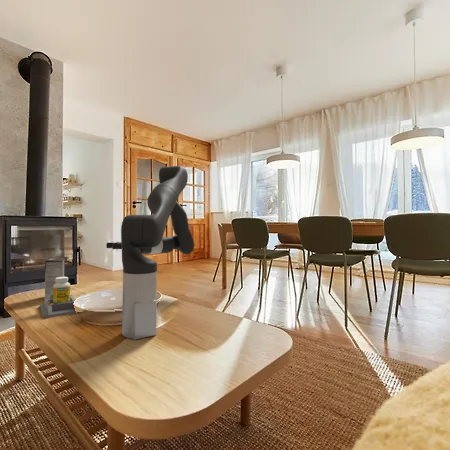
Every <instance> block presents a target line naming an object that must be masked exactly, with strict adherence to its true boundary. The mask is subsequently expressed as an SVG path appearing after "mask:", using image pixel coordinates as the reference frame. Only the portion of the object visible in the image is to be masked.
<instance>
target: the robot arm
mask: <svg viewBox="0 0 450 450" xmlns="http://www.w3.org/2000/svg"><path fill="white" fill-rule="evenodd" d="M188 176H189V175H188V172H187V169H186V168H185V167H184V166H181V165H173V166H172V165H171V166H163V167H160V169H159V171H158V180H159V184H157V185H156V186H155V187H154V188H153V189H152V190H151V192H150V193H149V195H148V196H147V207H148V209H149V212H150V213H151V214H128V215H126V216H125V217H124V218H123V220H122V222H121V226H120V241H116V242H106V246H105V247H106V248H107V249H112V250H121V263H122V311H121V313H122V315H121V316H122V320H121V322H122V324H121V325H122V328H121V329H122V330H121V335H122V336H123V337H124V338H128V339H132V340H134V341H136V340H139V339H144V338H149V337H152V336H156V335H157V300H158V297H157V296H158V291H157V288H158V286H157V285H158V263H157V261H156V260H155V259H152V258H149V257H148V256H145V255H157V254H168V253H172V252H173V251H174V250H177V251H179V252H180V253H181V254H184V255H190V254H191V253H193V251H194V248H195V241H194V238H193V235H192V232H191V230H190V225H189V219H188V214H187V212H186V211H185V209H184V208H183V207H182V206H181V204H180V203H179V201H178V199H179V197H180V195H181V194H182V193H183V191H184V189H185V188H186V186H187V184H188V179H189V177H188ZM169 219H170V220H171V225H172V230H173V232H174V234H175V235H171V236H164V235H165V232H166V227H167V225H168V222H169Z"/></svg>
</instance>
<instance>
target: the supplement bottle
mask: <svg viewBox="0 0 450 450" xmlns="http://www.w3.org/2000/svg"><path fill="white" fill-rule="evenodd" d="M55 281H56V284H54V285H53V304H59V303H66V302H70V295H71V283H70V282H69V277H68V276H65V277H57V278H55Z"/></svg>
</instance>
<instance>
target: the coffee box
mask: <svg viewBox="0 0 450 450" xmlns="http://www.w3.org/2000/svg"><path fill="white" fill-rule="evenodd" d="M65 260H66V258H65V257H60V258H59V257H51V258H49V257H48V258H47V259H46V260H45V262H44V263H45V264H44V265H45V269H44V270H45V273H44V299H45V298H48V299H53V285H54V284H56V281H55V278H57V277H66V275H65V274H66V273H65V271H66V268H65V267H66V266H65V265H66V264H65V263H66V261H65Z"/></svg>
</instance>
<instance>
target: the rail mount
mask: <svg viewBox="0 0 450 450" xmlns="http://www.w3.org/2000/svg"><path fill="white" fill-rule="evenodd" d="M75 300H77V299H76V298H75V297H74V295H73V294H70V302H66V303H59V304H52V303H53V299H48V298H45V297H44V303H42V304H39V309H40V313H41V317H42V319H45V318H52V317H53V318H54V317H58V316H59V317H60V316H66V315H67V316H68V315H71V314H77V313H76V311H75V308H74V305H73V303H74V301H75Z"/></svg>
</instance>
